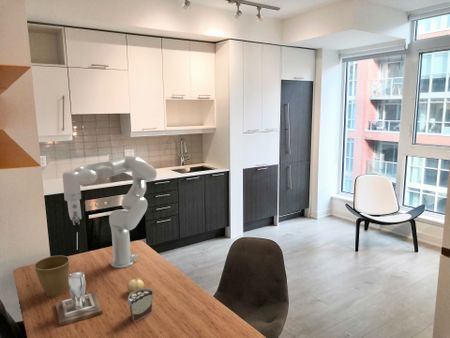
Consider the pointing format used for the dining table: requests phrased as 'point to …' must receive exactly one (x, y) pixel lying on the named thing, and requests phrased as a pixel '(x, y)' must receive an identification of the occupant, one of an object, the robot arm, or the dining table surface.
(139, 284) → the onion
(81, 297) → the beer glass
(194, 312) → the dining table surface
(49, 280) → the plant pot
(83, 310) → the holder board
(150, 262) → the dining table surface
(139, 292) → the food container
